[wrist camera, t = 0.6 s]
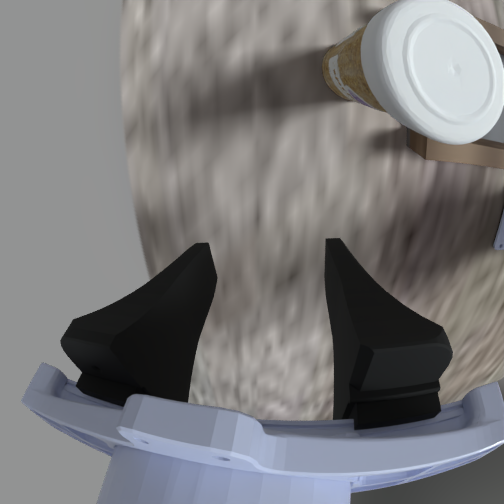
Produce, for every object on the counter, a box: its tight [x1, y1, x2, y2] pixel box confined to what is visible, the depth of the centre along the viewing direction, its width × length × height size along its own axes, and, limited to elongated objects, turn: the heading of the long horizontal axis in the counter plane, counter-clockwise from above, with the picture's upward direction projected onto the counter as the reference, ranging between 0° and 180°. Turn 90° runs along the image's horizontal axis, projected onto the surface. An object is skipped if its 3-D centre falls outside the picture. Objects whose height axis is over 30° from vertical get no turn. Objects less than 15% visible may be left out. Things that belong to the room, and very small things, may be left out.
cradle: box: [407, 16, 504, 169], centre depth 12 cm, size 13×11×4 cm
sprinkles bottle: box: [322, 0, 504, 145], centre depth 10 cm, size 5×5×13 cm
